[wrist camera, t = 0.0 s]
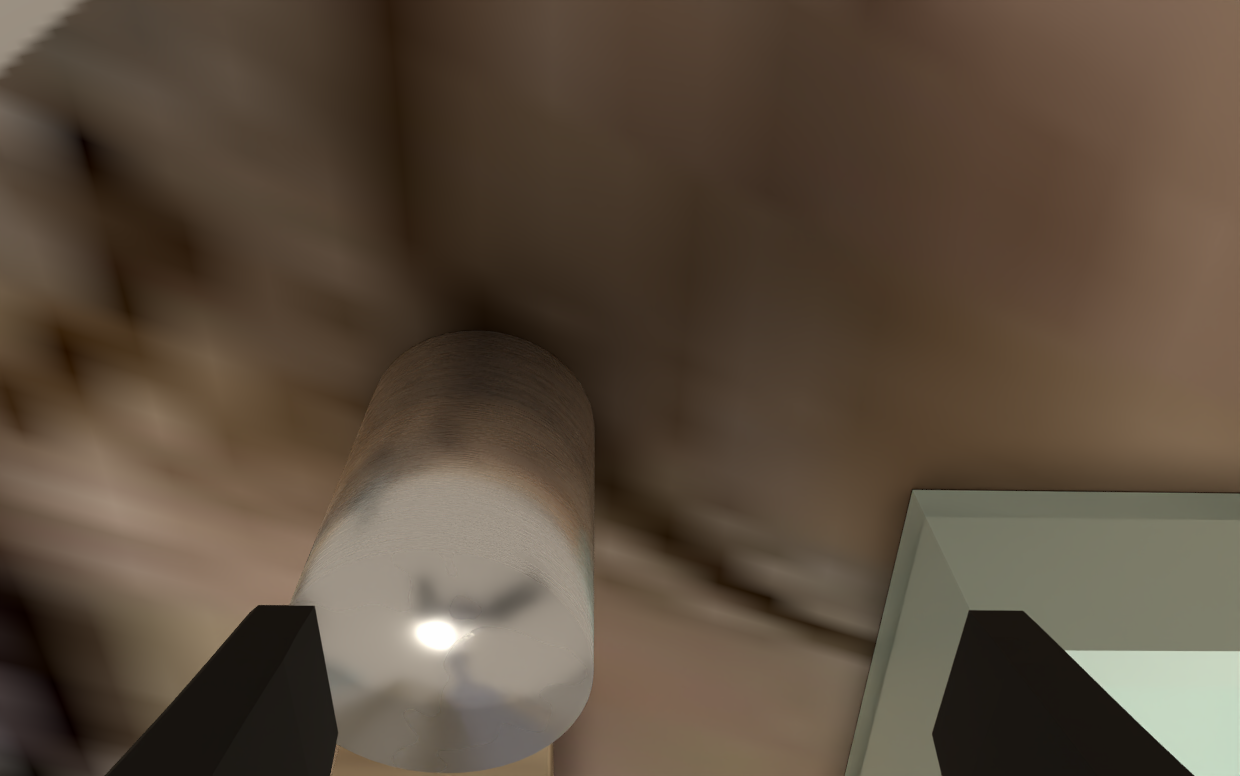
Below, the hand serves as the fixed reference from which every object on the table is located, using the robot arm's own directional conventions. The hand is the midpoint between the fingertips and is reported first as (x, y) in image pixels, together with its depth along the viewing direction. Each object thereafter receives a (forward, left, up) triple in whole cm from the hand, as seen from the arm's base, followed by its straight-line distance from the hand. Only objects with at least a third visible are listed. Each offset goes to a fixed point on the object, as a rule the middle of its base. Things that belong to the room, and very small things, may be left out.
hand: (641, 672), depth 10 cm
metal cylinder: (-3, +3, -10) cm, 11 cm away
